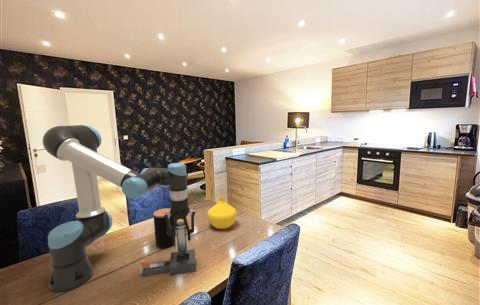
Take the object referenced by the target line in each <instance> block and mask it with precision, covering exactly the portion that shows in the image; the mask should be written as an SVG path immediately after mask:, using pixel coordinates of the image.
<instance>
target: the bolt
mask: <svg viewBox="0 0 480 305" xmlns="http://www.w3.org/2000/svg"><path fill="white" fill-rule="evenodd" d="M161 262H162V263H157V262H155V263H156V264H151V263H150V258H149V257H148V258H143V259H141V261H140V269H139V270H140V275H143V274H142V271H143V270H149V269H155V268H161V267H166V266H165V262H163V261H161Z"/></svg>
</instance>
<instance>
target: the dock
mask: <svg viewBox="0 0 480 305" xmlns="http://www.w3.org/2000/svg"><path fill="white" fill-rule="evenodd" d="M196 260H197V259H196V250H195V248H193V249H187V254H186V255H184V256H179V255H178V251H173V252H172V251H171V252H170V260H165V261H159V262H158V261H157V262H153V263H152V262H151V263H150V264H156V263H162V262H165V267H161V268H155V269H149V270H143V271H142V274H141V275H142V277H145V276H152V275H158V274H164V273H169V276H170V277H171V276H177V275H182V274H188V273H193V272H197V262H196Z"/></svg>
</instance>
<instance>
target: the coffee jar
mask: <svg viewBox="0 0 480 305" xmlns="http://www.w3.org/2000/svg"><path fill="white" fill-rule="evenodd" d="M170 210H171V207H169V208H167V207H166V208H160V209H157V210H155V211H154V212H153V214H152V215H153V228H154V238H155V245H156V247H158V248H159V249H168V248H171V247H173V246H174V245H176V243H173V238H172V236H168V232H167V223H166V219H165V217H164V215H165V213H168V212H170ZM169 219H170V227H171V232H173V226H174V220H175V218H174V217H173V216H172V215H170V218H169ZM175 234H177V232H176V233H175Z"/></svg>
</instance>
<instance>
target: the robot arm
mask: <svg viewBox="0 0 480 305" xmlns="http://www.w3.org/2000/svg"><path fill="white" fill-rule="evenodd" d="M101 145H102V135H101V134H100V132H99V131H98V130H97V129H96V128H95V127H93V126H91V125H85V124H83V125H82V124H79V125H78V124H77V125H56V126H54V127H50V128H49V129H48V130H47V131H46V132H44V134H43V137H42V146H43V147H44V150H45V151H46V152H47V153H48V154H49V155H51V156H53V157H54V158H56V159H58V160H60V161H63V162H65V161H68V162H70V163H71V166H72V173H73V179H74V185H75V193H76V198H77V204H78V206H77V207H78V212H77V213H76V214H75V219H76V220H71V221H67V222H64V223H62V224H59V225H57V226H56V227H54V228H53V229H52V230H51V231H49V233H48V235H47V245H48V250H49V255H50V261H51V267H52V269H51V270H50V275H49V280H48V286H49V290H50V291H52V292H56V293H58V292H65V291H70V290H73V289H75V288H77V287H79V286H82V285H83V284H85V283H86V282H87V281H89V280H90V279H91V277H92V276H93V274H94V266H93V265H92V262H91V261H90V260H89V258H88V256H87V250H86V249H87V247H88V246H89V245H91V244H92V243H94V242H95V241H97V240H98V239H100V238H102V237H103V236H105V235H106V234H107V233H108V232H109V231H110V230H111V228H112V226H113V217H112V214H110V213H109V212H108V211H107V210H106V208H105V207H104V206H102V204H101V197H100V190H99V183H98V182H99V181H98V177H99V178H102V179H104V180H106V181H107V182H110V183H112V184H114V185H116V186H117V187H120V188H121V191H122V193H123V195H124V196H125V197H127V198H129V199H136V198H138V197H140V196H143V195H144V194H146V193H147V192H149V191H151V190H153V189H154V188H156V187H159V186H163V187H165V186H168V189H169V198H170V200H169V201H170V208H171V210H170V212H168V213H165V215H164V217H165V219H166V223H167V232H168V236H172V238H173V243H175V252H178V244H177V231H176V226H177V223H178V220H182V222H184V224H185V225H186V244H187V250H190V249H189V248H190V247H189V241H191V240H192V238H191V234H192V233H193V234H194V233H195V216H196V210H195V209H190V207H189V198H188V196H189V195H188V193H189V192H188V182H187V181H188V177H187V176H188V175H187V174H188V173H187V167H186V164H185V163H183V162H174V163H170V164H167V167H162V168H161V167H149V168H143V169H142V170H141V172H140V173H139V172H136V171H135V170H133V169H131V168H130V167H129V168H128V167H126V166H125V165H123V164H121V163H119V162H117V161H114V160H113V159H111V158H109V157H108V156H107V157H106V156H105V155H103V154H101V153H99V152H98V148H99V147H100V146H101ZM170 215H172V216H173V217H174V218H175V220H174V226H173V232H171V227H170V219H169V218H170ZM188 215H190V225H189V222H188V219H187V216H188ZM190 226H191V228H190ZM175 233H176V234H175Z"/></svg>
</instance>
